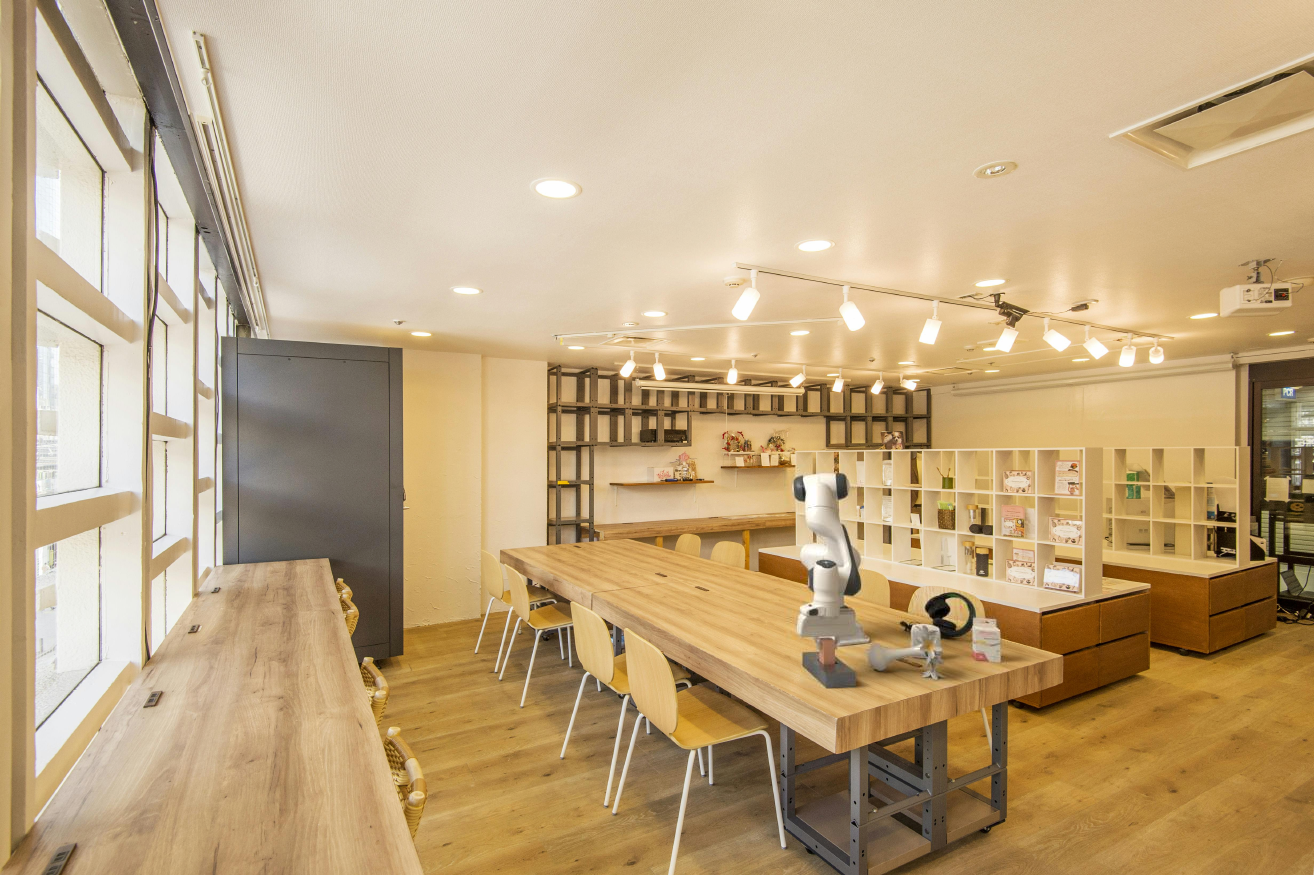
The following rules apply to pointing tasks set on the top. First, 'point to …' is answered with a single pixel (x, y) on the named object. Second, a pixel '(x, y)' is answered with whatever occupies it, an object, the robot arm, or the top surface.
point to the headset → (941, 609)
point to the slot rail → (829, 671)
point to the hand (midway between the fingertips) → (826, 649)
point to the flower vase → (909, 653)
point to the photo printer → (917, 633)
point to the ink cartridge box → (986, 640)
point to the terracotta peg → (827, 651)
